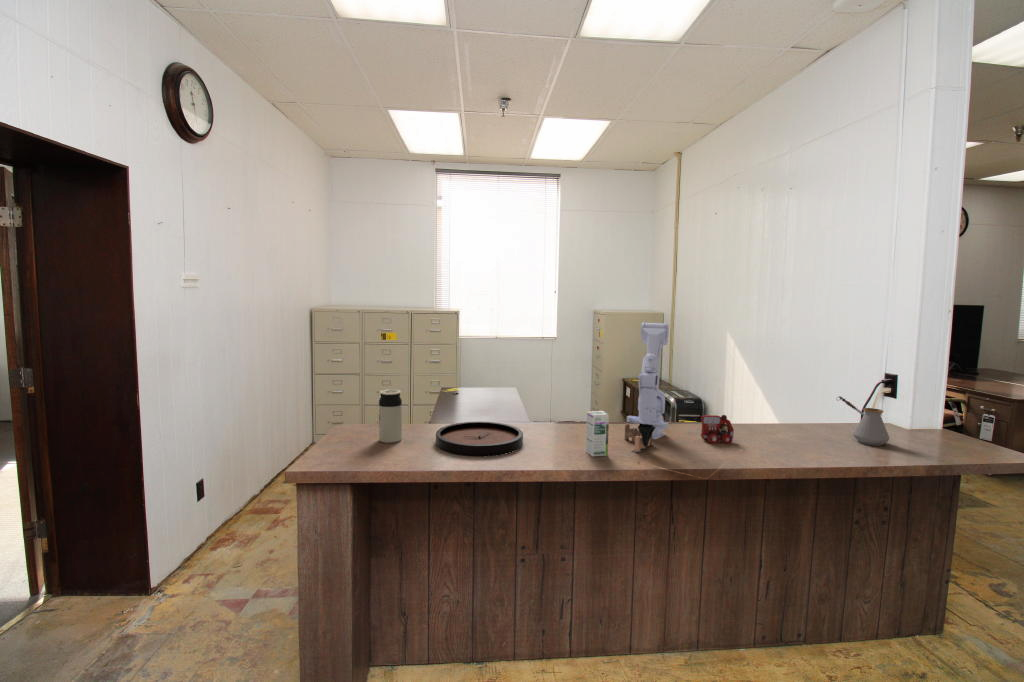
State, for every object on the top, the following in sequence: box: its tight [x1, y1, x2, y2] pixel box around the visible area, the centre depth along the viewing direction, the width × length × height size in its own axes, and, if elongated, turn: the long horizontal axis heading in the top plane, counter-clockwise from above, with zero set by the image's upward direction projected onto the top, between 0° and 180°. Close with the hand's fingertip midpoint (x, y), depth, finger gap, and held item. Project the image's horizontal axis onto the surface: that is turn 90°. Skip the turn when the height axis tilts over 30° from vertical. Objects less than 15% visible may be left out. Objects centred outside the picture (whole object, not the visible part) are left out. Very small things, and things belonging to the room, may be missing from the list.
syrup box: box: [585, 410, 610, 458], centre depth 174 cm, size 6×6×14 cm
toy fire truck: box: [700, 414, 735, 445], centre depth 191 cm, size 7×12×10 cm, turn 94°
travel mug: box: [378, 389, 403, 444], centre depth 184 cm, size 8×8×18 cm
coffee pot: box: [836, 396, 890, 447], centre depth 199 cm, size 21×12×15 cm, turn 14°
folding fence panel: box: [633, 434, 651, 453], centre depth 179 cm, size 10×1×5 cm, turn 142°
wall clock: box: [435, 421, 524, 458], centre depth 184 cm, size 31×4×31 cm
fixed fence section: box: [624, 423, 653, 446], centre depth 187 cm, size 2×11×6 cm, turn 51°
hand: (645, 445), depth 177 cm, fingers closed
